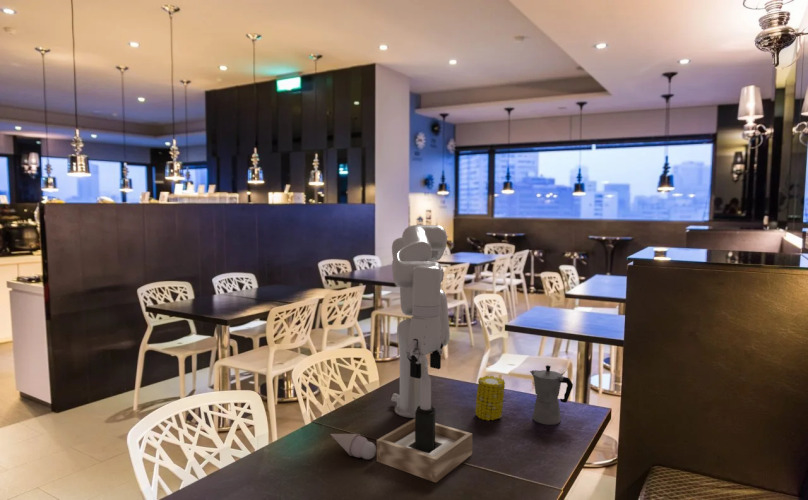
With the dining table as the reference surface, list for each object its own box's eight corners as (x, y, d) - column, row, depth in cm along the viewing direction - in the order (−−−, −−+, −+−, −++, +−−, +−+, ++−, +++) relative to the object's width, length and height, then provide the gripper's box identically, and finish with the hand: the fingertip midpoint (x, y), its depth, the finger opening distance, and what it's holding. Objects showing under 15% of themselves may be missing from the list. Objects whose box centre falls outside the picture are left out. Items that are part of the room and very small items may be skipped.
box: (376, 461, 143) (376, 439, 143) (416, 436, 159) (416, 417, 158) (435, 482, 132) (436, 459, 132) (472, 454, 148) (472, 433, 147)
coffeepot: (521, 417, 174) (522, 363, 173) (537, 409, 180) (538, 358, 179) (563, 431, 163) (565, 374, 161) (578, 423, 169) (580, 368, 168)
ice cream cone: (328, 447, 151) (373, 467, 145) (320, 441, 146) (366, 461, 140) (338, 426, 154) (382, 445, 148) (331, 420, 149) (376, 439, 143)
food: (487, 413, 180) (506, 424, 173) (463, 413, 174) (483, 424, 167) (496, 373, 181) (516, 382, 173) (473, 371, 174) (492, 380, 167)
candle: (432, 460, 143) (433, 370, 141) (414, 458, 144) (414, 368, 142) (435, 451, 148) (436, 364, 146) (417, 450, 149) (418, 363, 147)
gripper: (431, 304, 151) (431, 362, 153) (396, 314, 137) (395, 378, 139) (454, 307, 147) (453, 367, 149) (420, 318, 133) (419, 384, 135)
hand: (425, 372), depth 144 cm, fingers open, 9 cm apart
